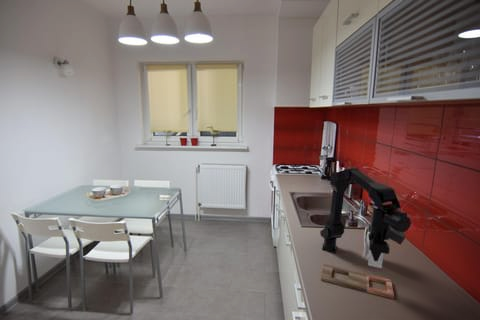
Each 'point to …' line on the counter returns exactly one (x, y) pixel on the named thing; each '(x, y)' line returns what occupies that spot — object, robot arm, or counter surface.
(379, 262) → the square peg
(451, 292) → the counter surface
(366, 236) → the beer glass
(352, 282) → the brown flat frame piece
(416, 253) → the counter surface
